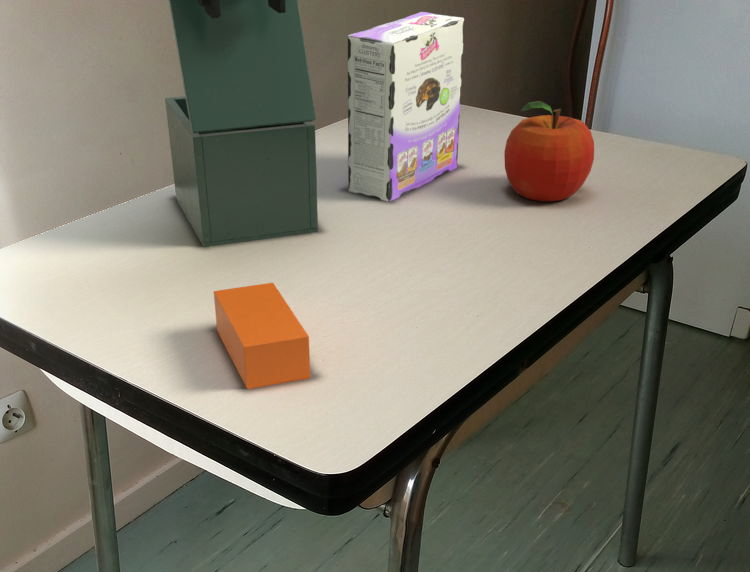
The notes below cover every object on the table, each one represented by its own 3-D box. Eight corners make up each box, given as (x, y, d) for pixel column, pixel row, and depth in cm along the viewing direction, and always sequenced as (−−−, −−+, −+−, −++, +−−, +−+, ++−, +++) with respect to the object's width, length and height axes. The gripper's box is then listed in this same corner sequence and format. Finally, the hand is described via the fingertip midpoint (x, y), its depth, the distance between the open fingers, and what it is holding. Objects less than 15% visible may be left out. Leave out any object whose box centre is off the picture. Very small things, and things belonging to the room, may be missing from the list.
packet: (247, 393, 76) (243, 346, 74) (217, 335, 84) (213, 290, 81) (310, 382, 77) (309, 336, 75) (275, 326, 85) (273, 282, 83)
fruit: (597, 212, 106) (610, 114, 100) (507, 212, 106) (515, 115, 100) (579, 180, 114) (591, 88, 108) (495, 181, 114) (502, 88, 108)
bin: (176, 202, 108) (164, 97, 101) (281, 190, 111) (276, 87, 104) (204, 251, 97) (192, 137, 91) (318, 235, 101) (315, 125, 94)
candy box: (416, 161, 119) (421, 9, 109) (458, 171, 116) (467, 16, 106) (345, 194, 110) (344, 32, 100) (389, 206, 107) (392, 40, 97)
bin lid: (162, -34, 88) (168, -55, 84) (289, -41, 91) (302, -62, 87) (191, 133, 91) (199, 122, 86) (314, 121, 94) (328, 109, 90)
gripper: (318, -249, 82) (324, -3, 93) (106, -248, 77) (139, 11, 88) (349, -248, 76) (352, 14, 87) (122, -247, 71) (155, 29, 82)
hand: (245, 10), depth 87 cm, fingers closed on bin lid, 5 cm apart
